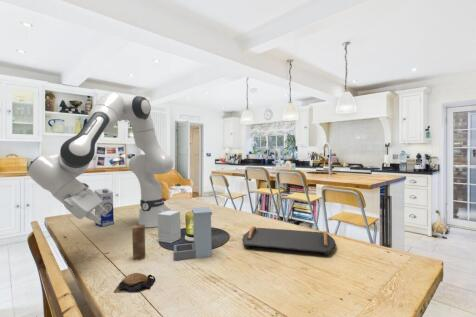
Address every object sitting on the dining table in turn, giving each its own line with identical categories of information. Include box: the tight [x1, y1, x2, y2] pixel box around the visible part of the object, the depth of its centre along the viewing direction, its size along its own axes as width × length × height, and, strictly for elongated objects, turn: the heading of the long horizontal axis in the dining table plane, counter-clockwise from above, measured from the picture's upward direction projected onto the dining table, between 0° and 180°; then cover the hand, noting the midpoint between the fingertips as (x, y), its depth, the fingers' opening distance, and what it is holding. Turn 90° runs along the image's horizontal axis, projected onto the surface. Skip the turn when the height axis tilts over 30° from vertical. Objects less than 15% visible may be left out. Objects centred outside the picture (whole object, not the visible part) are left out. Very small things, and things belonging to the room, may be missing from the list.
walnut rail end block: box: [131, 224, 146, 261], centre depth 98 cm, size 4×4×12 cm
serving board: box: [242, 226, 336, 257], centre depth 110 cm, size 39×23×6 cm, turn 73°
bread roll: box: [113, 272, 156, 294], centre depth 77 cm, size 11×8×4 cm
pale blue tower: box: [173, 206, 213, 262], centre depth 100 cm, size 14×9×17 cm, turn 105°
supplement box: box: [157, 210, 182, 244], centre depth 117 cm, size 7×7×13 cm
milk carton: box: [93, 187, 115, 228], centre depth 143 cm, size 7×7×20 cm
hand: (103, 217), depth 94 cm, fingers open, 8 cm apart
